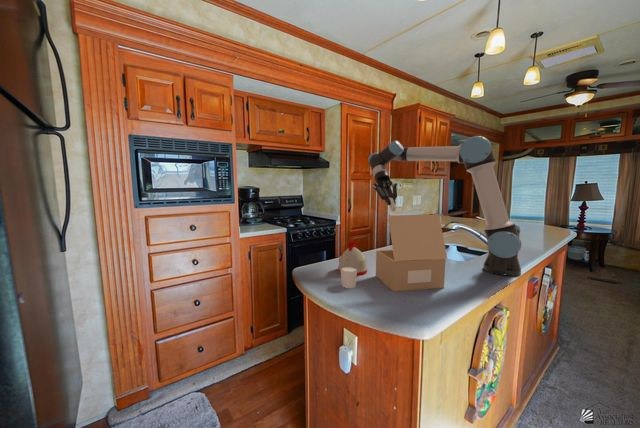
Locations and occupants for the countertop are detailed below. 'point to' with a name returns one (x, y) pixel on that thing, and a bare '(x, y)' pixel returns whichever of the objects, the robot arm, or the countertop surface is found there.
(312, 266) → the countertop surface
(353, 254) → the kitchen timer
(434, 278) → the carton
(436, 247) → the carton lid
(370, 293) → the countertop surface
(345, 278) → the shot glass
